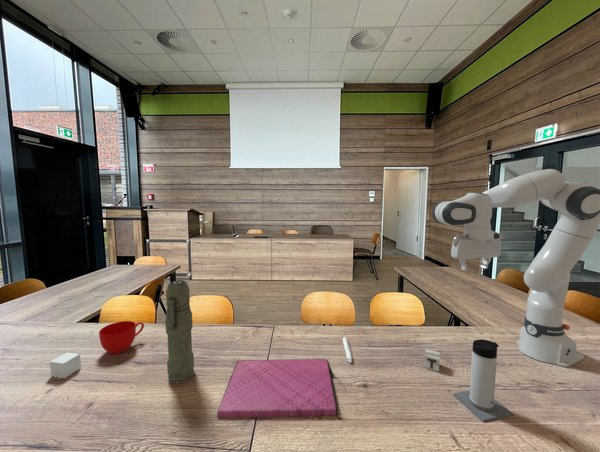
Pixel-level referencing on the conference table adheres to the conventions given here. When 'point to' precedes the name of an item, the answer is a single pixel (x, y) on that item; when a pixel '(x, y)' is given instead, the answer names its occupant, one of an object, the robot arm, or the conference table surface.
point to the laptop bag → (280, 389)
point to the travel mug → (483, 374)
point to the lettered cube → (432, 360)
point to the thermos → (179, 332)
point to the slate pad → (496, 413)
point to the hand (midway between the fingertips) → (474, 269)
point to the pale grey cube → (65, 365)
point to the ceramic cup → (118, 336)
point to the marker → (347, 350)
